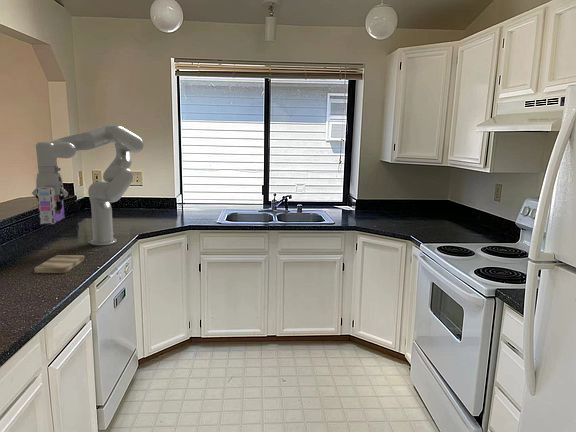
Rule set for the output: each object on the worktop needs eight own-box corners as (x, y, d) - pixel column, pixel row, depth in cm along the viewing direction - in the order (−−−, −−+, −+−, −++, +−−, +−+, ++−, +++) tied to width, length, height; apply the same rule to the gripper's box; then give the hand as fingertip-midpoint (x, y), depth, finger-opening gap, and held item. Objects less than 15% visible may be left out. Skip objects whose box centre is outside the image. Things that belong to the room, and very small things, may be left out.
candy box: (54, 224, 182) (50, 187, 178) (39, 224, 181) (35, 187, 178) (65, 218, 195) (62, 183, 192) (52, 218, 194) (48, 183, 191)
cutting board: (57, 259, 183) (56, 255, 183) (84, 259, 184) (84, 255, 183) (34, 272, 165) (34, 267, 165) (65, 272, 166) (65, 268, 166)
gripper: (71, 169, 187) (74, 208, 191) (32, 169, 186) (36, 207, 190) (63, 171, 180) (67, 211, 184) (23, 170, 179) (27, 210, 183)
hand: (51, 209), depth 187 cm, fingers closed on candy box, 6 cm apart
